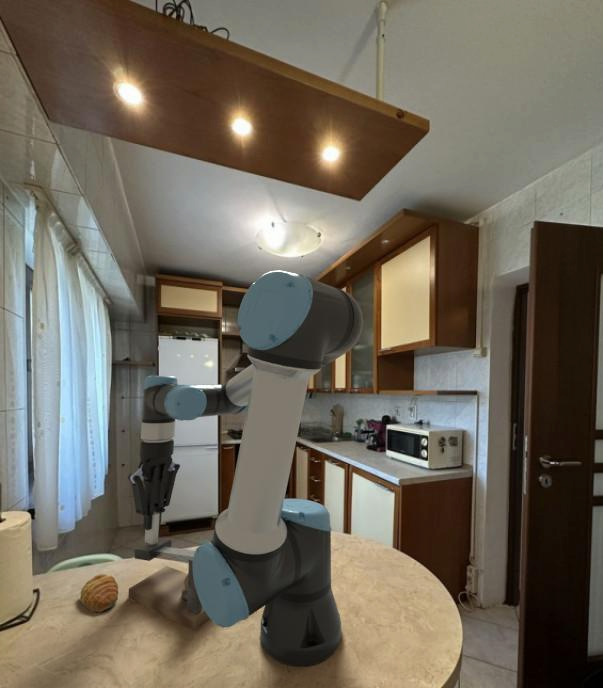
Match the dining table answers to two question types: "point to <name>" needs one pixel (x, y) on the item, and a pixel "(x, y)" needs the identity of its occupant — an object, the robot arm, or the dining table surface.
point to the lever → (163, 552)
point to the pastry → (99, 593)
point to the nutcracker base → (171, 596)
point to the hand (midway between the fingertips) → (151, 541)
